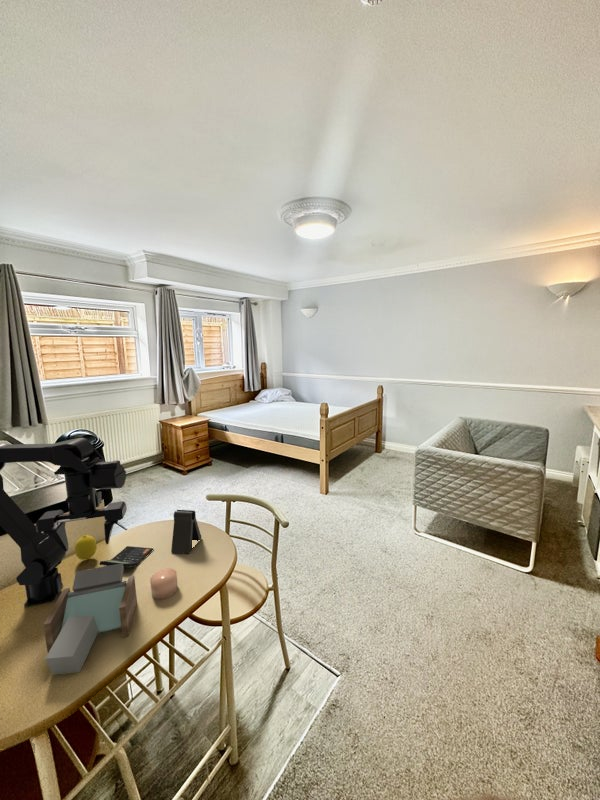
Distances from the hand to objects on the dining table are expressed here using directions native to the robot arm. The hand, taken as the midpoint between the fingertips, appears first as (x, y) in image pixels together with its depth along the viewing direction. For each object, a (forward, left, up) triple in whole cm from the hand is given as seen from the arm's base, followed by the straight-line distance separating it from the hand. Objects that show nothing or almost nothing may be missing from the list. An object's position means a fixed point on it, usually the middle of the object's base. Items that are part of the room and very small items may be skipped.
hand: (87, 547), depth 86 cm
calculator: (+6, +13, -14) cm, 20 cm away
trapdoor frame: (+4, -14, -13) cm, 19 cm away
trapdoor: (+4, -10, -8) cm, 14 cm away
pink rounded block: (+18, -5, -13) cm, 23 cm away
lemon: (-6, +17, -13) cm, 22 cm away
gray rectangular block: (+3, -17, -9) cm, 19 cm away
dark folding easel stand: (+23, +15, -13) cm, 30 cm away
